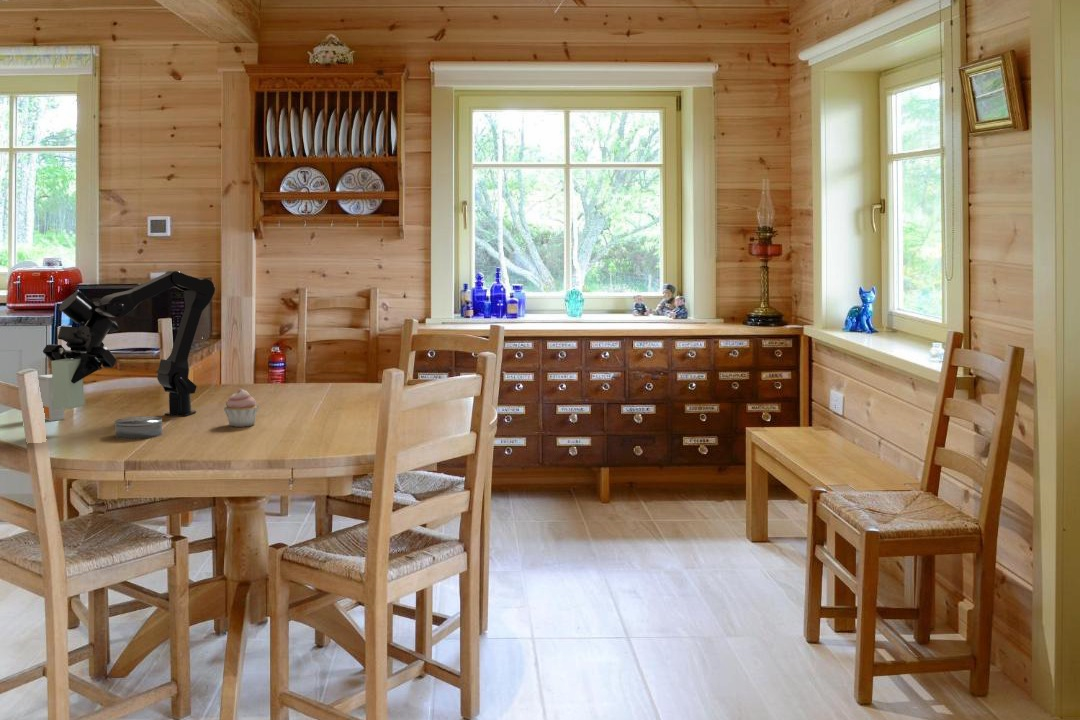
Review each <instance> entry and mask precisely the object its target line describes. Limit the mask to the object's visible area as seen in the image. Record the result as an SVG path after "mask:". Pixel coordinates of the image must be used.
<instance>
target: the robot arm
mask: <svg viewBox="0 0 1080 720" xmlns="http://www.w3.org/2000/svg"><path fill="white" fill-rule="evenodd" d="M174 287H175V288H176V289H178V290H181V291H183V292H184V293H183V300H184V305H185V307H184V309H183V313H182V317H181V320H180V323H179V327H178V328H177V329H178V330H177V333H176V336H175V338H174V339H175V340H174V343H173V346H172V349H171V352H170V355H169V356H168V357H167V358H166V359H163V358H161V359H160V361H159V366H158V369H157V370H156V372H155V374H157V378H156V379H157V381H158V384H159V385H160V386H162V387H163V391H164V392H165V393H166V392H167V393H168V408H169V409H168V410H169V411H168V412H164V416H174V417H176V416H179V417H186V416H190V415H192V414H195V413H197V410H192V398H191V396H192V395H191V394H195V393H196V390H197V385H196V384H195V383H193V382H192V381H191V380H190V379H189V373H190V369H189V368H190V366H189V356H190V354H191V351H192V350H191V349H192V346H193V343H194V341H195V340H194V339H195V337H196V334H197V331H198V327H199V323H200V320H201V317H202V315H203V311H204V310H205V309H206V308H207V307H208V306H209V304H210V303H211V301H212V299H213V297H214V295H215V293H216V287H215V285H214V282H213V281H212V280H210V279H209V278H197V277H194V276H191V275H189V274H185V273H183V272H181V271H179V270H167V271H166V272H164V273H162V274H160V275H159V276H157V277H154V278H152V279H150V280H148V281H146V282H143V283H142V284H140V285H137V286H136V287H134V288H133V287H132V288H131V289H128V290H125V291H119V292H115V293H112V294H107V295H104V296H103V297H102V298H101V299H100V300H99V301H93V302H92V300H90V299H89V298H87V296H85V294H84V293H83V292H81V290H75V292H73V294H70V295H68V297H66V298H64V300H63V301H62V302H61V303H60V305H59V308H58V310H60V311H61V312H62V313H63V314H64V315H65V316H67V317H68V318H70V319H71V320H72V321H73V322H74V323H75V324H78V325H79V324H81V323H82V324H84V325H79V327H77V326H76V327H75V326H66V325H65V326H62V325H61V326H60V327H59V331H58V335H57V340H61V341H63V342H66V344H65V345H66V346H67V348H70V349H65V348H64V347H63V345H62V344H46V345H45V347H44V348H43V350H42V353H43V354H44V355H45V356H46V357H47V358H48V360H49V361H50V362H51V361H54V360H61V359H81V362H80V364H79V366H78V368H77V370H76V372H75V373H74V375H73V377H72V380H71V382H72V383H76V382H78V381H79V380H81V379H83V380H84V379H85V378H86V377H88V376H89V375H91V374H93V373H95V372H97V371H99V370H100V371H101V370H103V368H104V369H114V366H115V365H116V363H117V358H116V356H115V354H113V352H111V350H110V349H109V348H108V347H107V346H105V343H104V342H103V341H104V339H105V338H106V336H107V334H108V332H109V333H114V332H117V331H120V327H119V325H118V322H117V321H116V320H112V319H110V317H111V318H118V319H119V318H124V317H125V316H127V315H128V314H130V313H131V312H132V311H135V310H134V309H136V308H137V306H138V305H140V304H141V303H143V302H145V301H147V300H149V299H151V298H153V297H155V296H157V295H160V294H161V293H164V292H166V291H167V290H170V289H171V288H174ZM100 313H101V314H100Z"/></svg>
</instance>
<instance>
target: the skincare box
mask: <svg viewBox="0 0 1080 720" xmlns="http://www.w3.org/2000/svg"><path fill="white" fill-rule="evenodd" d="M38 380H39V387H40V392H41V398H42V402H43V408H44V413H45V418H46V419H45V420H46V421H49V422H55V421H62V420H65V419H66V417H65V416H66V413H65V409H63V408H54V401H53V382H52V373H51V374H40V375H37V381H38ZM39 387H38V388H39Z"/></svg>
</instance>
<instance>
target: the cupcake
mask: <svg viewBox="0 0 1080 720" xmlns="http://www.w3.org/2000/svg"><path fill="white" fill-rule="evenodd" d="M228 398H229V399H227V400H226V401H225V406H224V407H223V408H222V409H223V411H224V413H225V414H226V417H227V420H228V424H229V426H230V427H233V426H234V427H235V428H245V426H247V427H252V426H254V424H255V422H256V416H257V413H258V410H259V408H260V406H258V405H256V404H257V403H256V399H255V398H254V397H252V396H251V395H250V393H249V392H248V391H247V390H246V389H243V388H240V387H239V388H238V390H237V393H233V394H231V395H230V397H228ZM234 427H233V428H234Z"/></svg>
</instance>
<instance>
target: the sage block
mask: <svg viewBox="0 0 1080 720" xmlns="http://www.w3.org/2000/svg"><path fill="white" fill-rule="evenodd" d="M50 362H51V374H52V382H53V401H54V408H63V409H64V410H65V409H67V410H72V409H76V408H77V409H78V408H81V407H85V392H84V391H85V389H84V378H83V379H81V380H79V381H78V382H76V383H72V382H71V380H72V377H73V375H74V373H75V372H76V370H77V368H78V366H79V364H80V362H81V359H61V360H54V361H51V360H50Z"/></svg>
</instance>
